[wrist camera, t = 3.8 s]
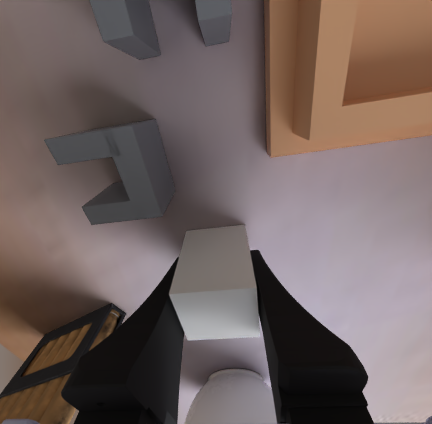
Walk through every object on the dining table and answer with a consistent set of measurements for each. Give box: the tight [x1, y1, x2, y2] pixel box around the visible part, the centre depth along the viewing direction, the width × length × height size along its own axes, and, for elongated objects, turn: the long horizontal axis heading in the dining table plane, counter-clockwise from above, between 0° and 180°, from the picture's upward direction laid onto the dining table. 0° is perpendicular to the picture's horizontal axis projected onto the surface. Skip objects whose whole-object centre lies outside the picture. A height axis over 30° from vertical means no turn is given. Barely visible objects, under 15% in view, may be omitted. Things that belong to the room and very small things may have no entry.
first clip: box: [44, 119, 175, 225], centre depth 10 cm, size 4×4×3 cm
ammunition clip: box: [0, 303, 126, 424], centre depth 14 cm, size 11×2×12 cm, turn 123°
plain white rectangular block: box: [169, 225, 260, 341], centre depth 12 cm, size 4×4×5 cm
